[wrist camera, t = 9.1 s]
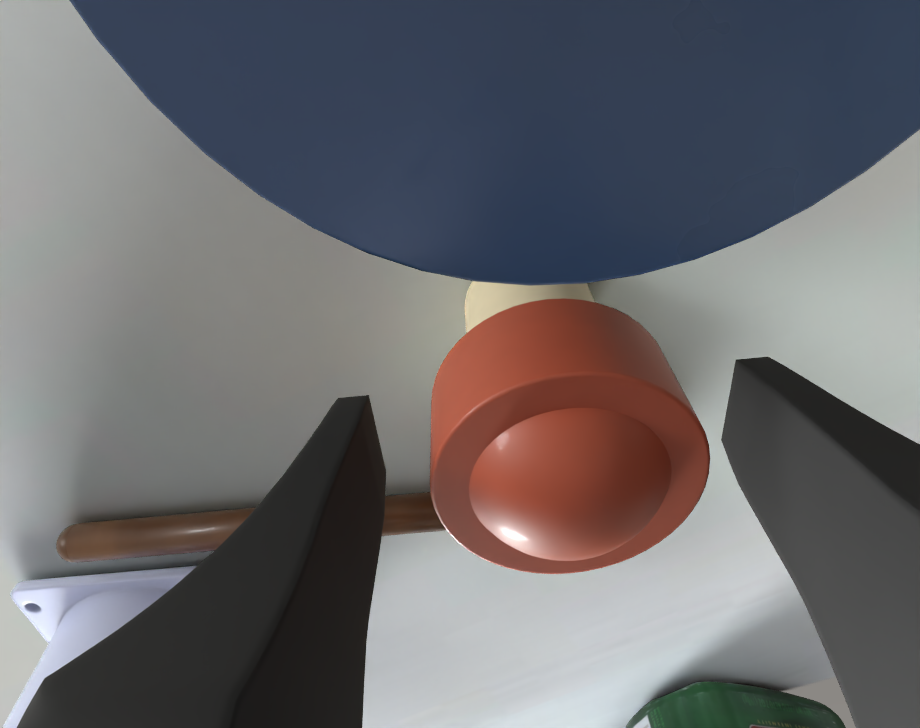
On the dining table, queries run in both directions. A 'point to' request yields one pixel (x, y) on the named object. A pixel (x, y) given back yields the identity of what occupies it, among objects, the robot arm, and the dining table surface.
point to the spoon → (210, 530)
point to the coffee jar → (733, 709)
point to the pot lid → (530, 118)
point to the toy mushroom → (560, 433)
